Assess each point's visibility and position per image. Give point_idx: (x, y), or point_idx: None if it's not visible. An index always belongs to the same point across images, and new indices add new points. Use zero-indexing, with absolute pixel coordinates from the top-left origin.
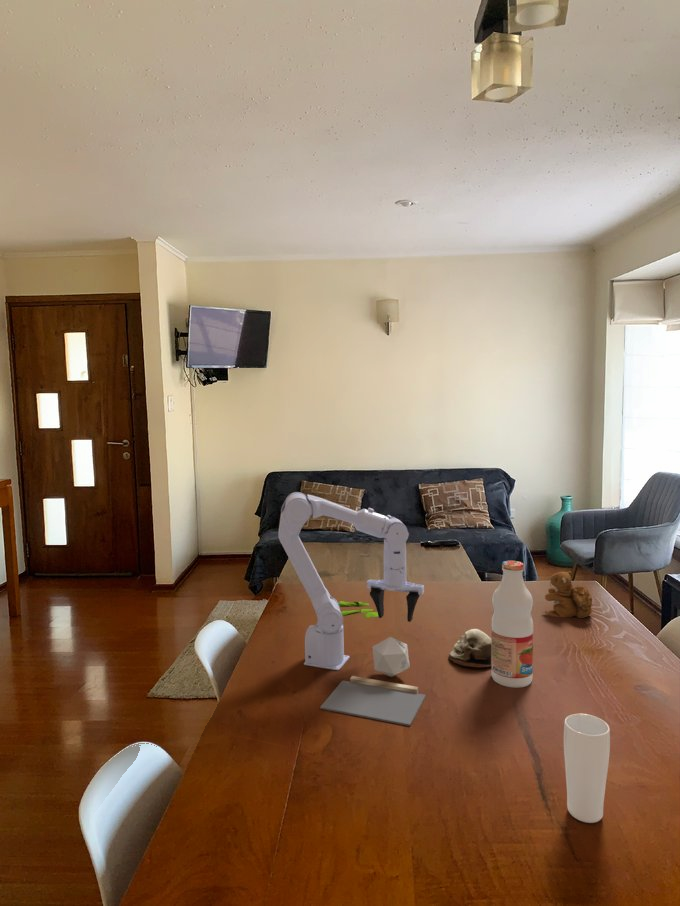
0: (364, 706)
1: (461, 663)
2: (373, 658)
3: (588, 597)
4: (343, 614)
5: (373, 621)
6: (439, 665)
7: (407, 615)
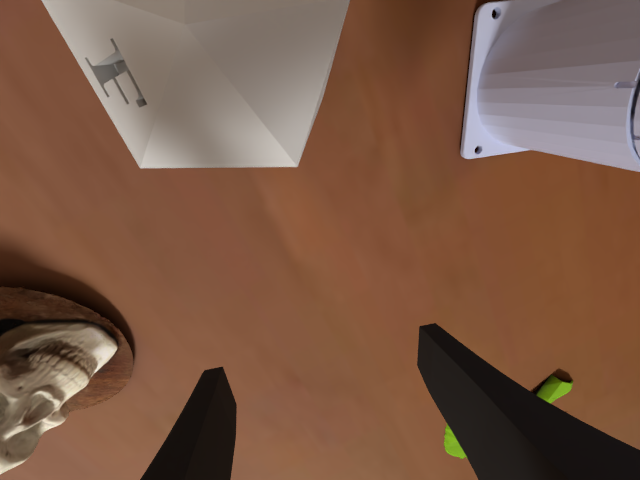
0: None
1: (21, 298)
2: None
3: None
4: (543, 393)
5: None
6: (118, 264)
7: (208, 407)
